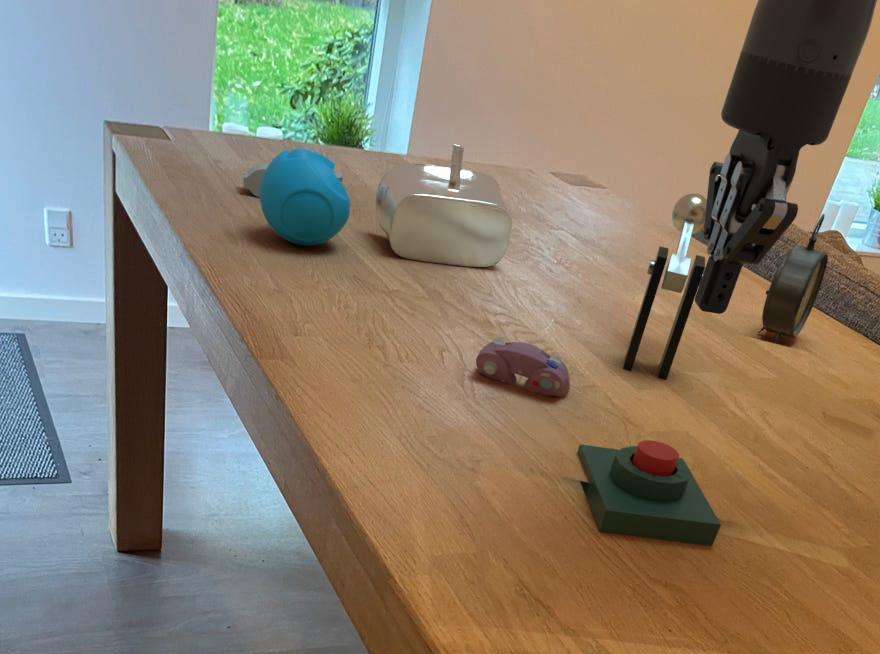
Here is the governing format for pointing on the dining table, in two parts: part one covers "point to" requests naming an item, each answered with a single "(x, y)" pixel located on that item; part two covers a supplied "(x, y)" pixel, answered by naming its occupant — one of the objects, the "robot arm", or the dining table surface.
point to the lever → (684, 238)
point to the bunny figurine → (255, 176)
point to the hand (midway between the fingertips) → (708, 308)
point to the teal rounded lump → (303, 197)
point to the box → (645, 499)
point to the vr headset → (444, 214)
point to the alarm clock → (794, 289)
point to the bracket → (681, 316)
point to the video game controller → (524, 367)
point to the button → (655, 458)
